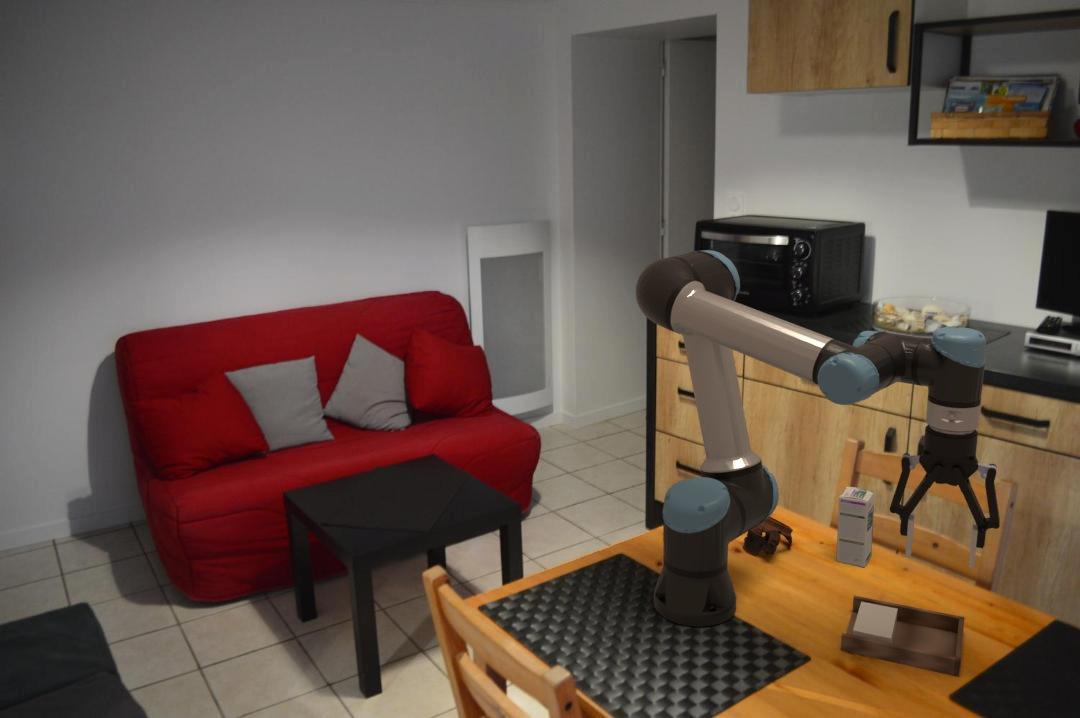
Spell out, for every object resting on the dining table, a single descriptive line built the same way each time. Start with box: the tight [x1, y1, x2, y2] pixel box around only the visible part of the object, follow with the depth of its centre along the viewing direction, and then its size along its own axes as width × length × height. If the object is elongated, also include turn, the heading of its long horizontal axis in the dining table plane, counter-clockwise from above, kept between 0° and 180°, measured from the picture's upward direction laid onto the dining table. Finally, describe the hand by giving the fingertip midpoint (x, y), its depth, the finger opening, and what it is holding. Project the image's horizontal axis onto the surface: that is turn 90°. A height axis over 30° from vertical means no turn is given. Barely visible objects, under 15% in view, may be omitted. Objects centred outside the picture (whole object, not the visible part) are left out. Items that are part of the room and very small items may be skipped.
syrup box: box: [836, 486, 875, 568], centre depth 180 cm, size 6×6×14 cm
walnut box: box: [840, 595, 965, 678], centre depth 151 cm, size 18×14×4 cm
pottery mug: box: [742, 516, 794, 558], centre depth 186 cm, size 12×10×8 cm
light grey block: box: [853, 602, 898, 643], centre depth 153 cm, size 6×10×3 cm, turn 153°
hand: (939, 558), depth 145 cm, fingers open, 9 cm apart
